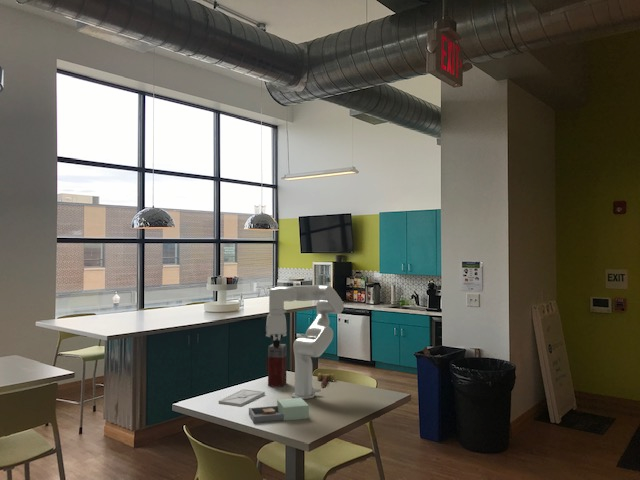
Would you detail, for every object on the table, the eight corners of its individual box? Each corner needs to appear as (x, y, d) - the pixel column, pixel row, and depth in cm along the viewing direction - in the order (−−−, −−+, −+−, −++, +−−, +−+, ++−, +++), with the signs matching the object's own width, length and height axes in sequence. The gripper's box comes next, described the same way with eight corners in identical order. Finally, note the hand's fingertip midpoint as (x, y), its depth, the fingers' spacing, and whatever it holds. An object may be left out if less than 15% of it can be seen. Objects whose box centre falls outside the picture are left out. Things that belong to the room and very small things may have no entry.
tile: (262, 409, 246) (262, 415, 246) (265, 412, 241) (265, 418, 241) (272, 408, 248) (272, 414, 248) (275, 410, 243) (275, 417, 243)
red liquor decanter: (268, 382, 314) (268, 335, 315) (286, 383, 312) (286, 336, 312) (264, 385, 305) (264, 337, 306) (282, 386, 303) (282, 338, 304)
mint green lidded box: (300, 409, 257) (300, 397, 257) (308, 418, 244) (308, 405, 244) (277, 412, 254) (277, 399, 254) (283, 420, 240) (283, 407, 240)
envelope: (218, 404, 268) (241, 407, 263) (218, 400, 269) (241, 403, 263) (243, 392, 290) (264, 395, 285) (243, 388, 291) (264, 391, 285)
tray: (277, 412, 254) (277, 405, 254) (283, 420, 240) (283, 414, 240) (248, 414, 249) (248, 408, 249) (253, 423, 236) (253, 416, 236)
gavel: (331, 383, 300) (313, 382, 301) (331, 391, 300) (314, 390, 301) (334, 372, 321) (318, 372, 322) (334, 380, 321) (318, 379, 322)
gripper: (288, 311, 273) (288, 346, 272) (260, 311, 268) (260, 347, 268) (292, 312, 266) (292, 348, 265) (263, 313, 261) (263, 349, 261)
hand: (276, 347), depth 267 cm, fingers closed
